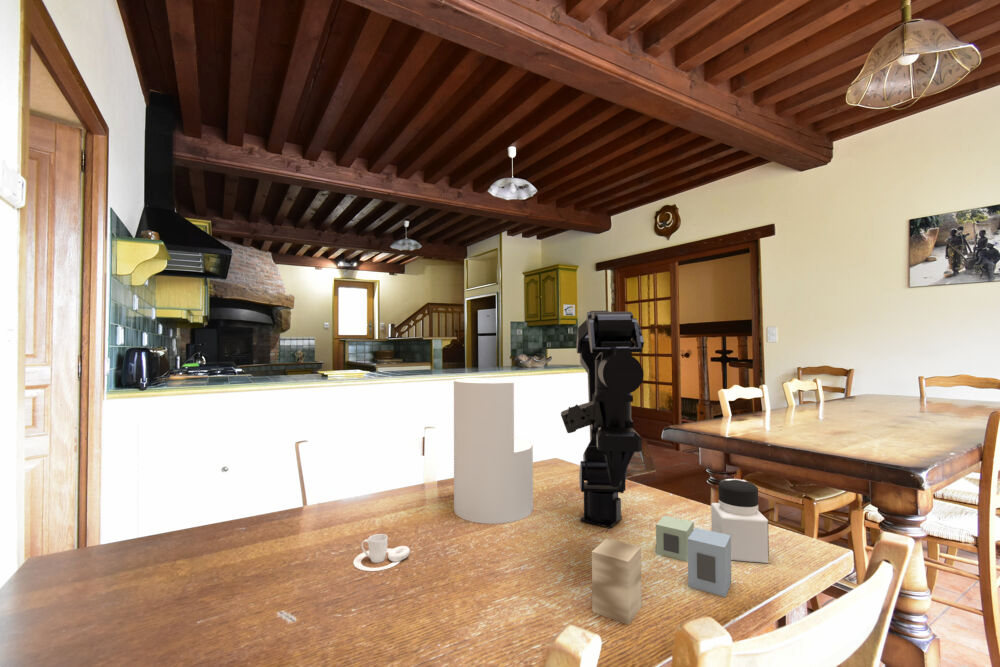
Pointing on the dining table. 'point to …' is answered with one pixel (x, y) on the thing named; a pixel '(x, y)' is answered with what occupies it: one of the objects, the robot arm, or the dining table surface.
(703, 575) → the slate numbered block
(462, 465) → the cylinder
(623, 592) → the beech block
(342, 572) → the dining table surface
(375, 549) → the teacup and saucer
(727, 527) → the medicine bottle
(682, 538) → the sage numbered block
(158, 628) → the dining table surface
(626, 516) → the dining table surface
